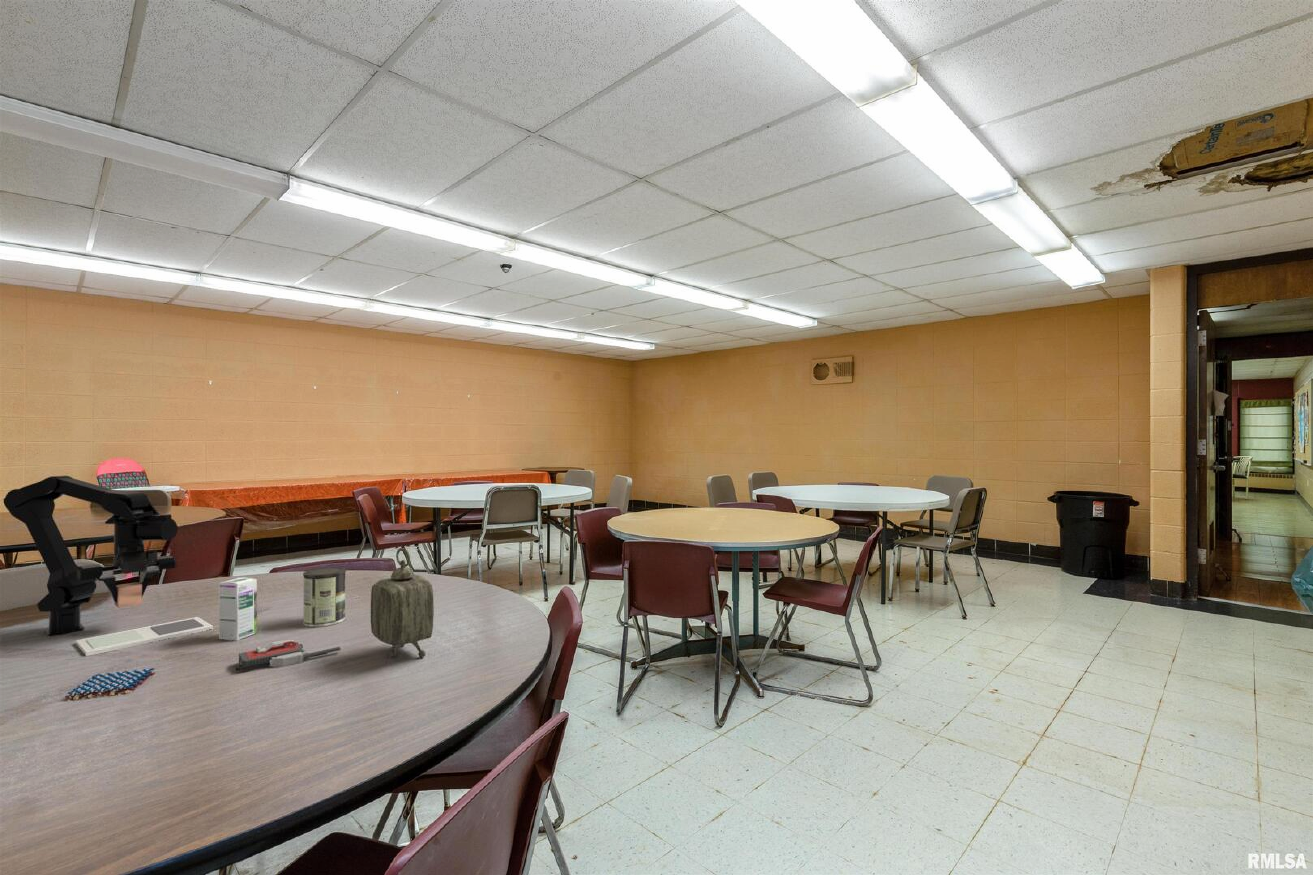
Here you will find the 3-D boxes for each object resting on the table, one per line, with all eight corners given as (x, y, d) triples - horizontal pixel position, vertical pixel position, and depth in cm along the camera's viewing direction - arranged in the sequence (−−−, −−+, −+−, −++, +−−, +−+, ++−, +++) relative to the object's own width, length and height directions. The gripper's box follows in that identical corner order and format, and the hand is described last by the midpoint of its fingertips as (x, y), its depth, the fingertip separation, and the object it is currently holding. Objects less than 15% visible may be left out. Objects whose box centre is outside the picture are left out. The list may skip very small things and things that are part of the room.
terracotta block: (114, 604, 149) (114, 585, 149) (137, 600, 153) (137, 582, 153) (118, 607, 146) (118, 588, 146) (141, 603, 150) (141, 584, 150)
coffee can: (333, 613, 165) (333, 564, 165) (352, 619, 160) (353, 569, 160) (295, 622, 157) (295, 571, 157) (314, 629, 151) (315, 576, 151)
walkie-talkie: (237, 679, 121) (341, 655, 134) (237, 658, 121) (342, 636, 134) (231, 666, 127) (332, 645, 141) (232, 646, 127) (332, 627, 141)
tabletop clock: (433, 657, 132) (434, 550, 133) (393, 668, 126) (394, 555, 126) (406, 642, 142) (407, 542, 142) (368, 651, 136) (369, 546, 136)
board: (75, 643, 139) (75, 639, 139) (197, 619, 158) (197, 616, 158) (86, 656, 131) (86, 651, 131) (213, 629, 151) (213, 625, 151)
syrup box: (237, 641, 142) (237, 583, 142) (217, 639, 143) (218, 581, 143) (257, 633, 148) (258, 577, 148) (238, 632, 149) (239, 576, 149)
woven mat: (93, 682, 119) (93, 672, 119) (156, 675, 122) (156, 666, 122) (61, 704, 109) (61, 693, 109) (131, 696, 112) (131, 686, 112)
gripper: (85, 549, 137) (84, 614, 137) (183, 539, 152) (182, 597, 152) (76, 544, 144) (75, 606, 144) (171, 534, 159) (170, 590, 159)
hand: (128, 600), depth 149 cm, fingers closed on terracotta block, 4 cm apart
